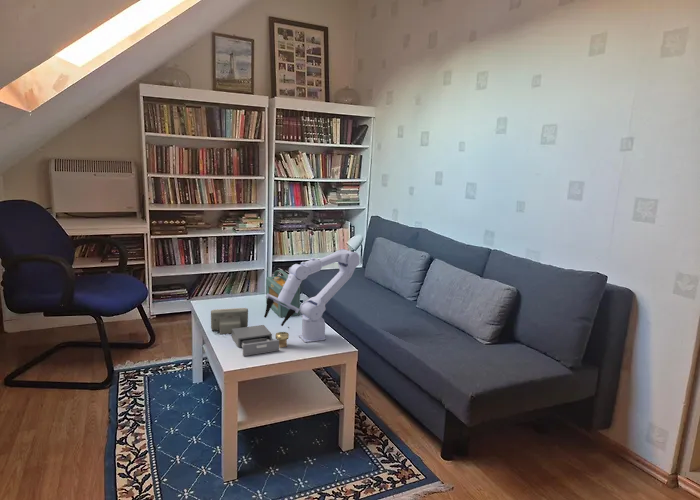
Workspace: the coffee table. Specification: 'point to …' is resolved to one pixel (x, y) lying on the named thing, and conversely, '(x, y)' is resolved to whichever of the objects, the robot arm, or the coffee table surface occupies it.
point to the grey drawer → (259, 346)
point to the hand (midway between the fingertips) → (273, 321)
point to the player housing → (250, 333)
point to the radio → (274, 289)
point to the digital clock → (228, 319)
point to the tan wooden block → (282, 343)
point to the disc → (282, 336)
